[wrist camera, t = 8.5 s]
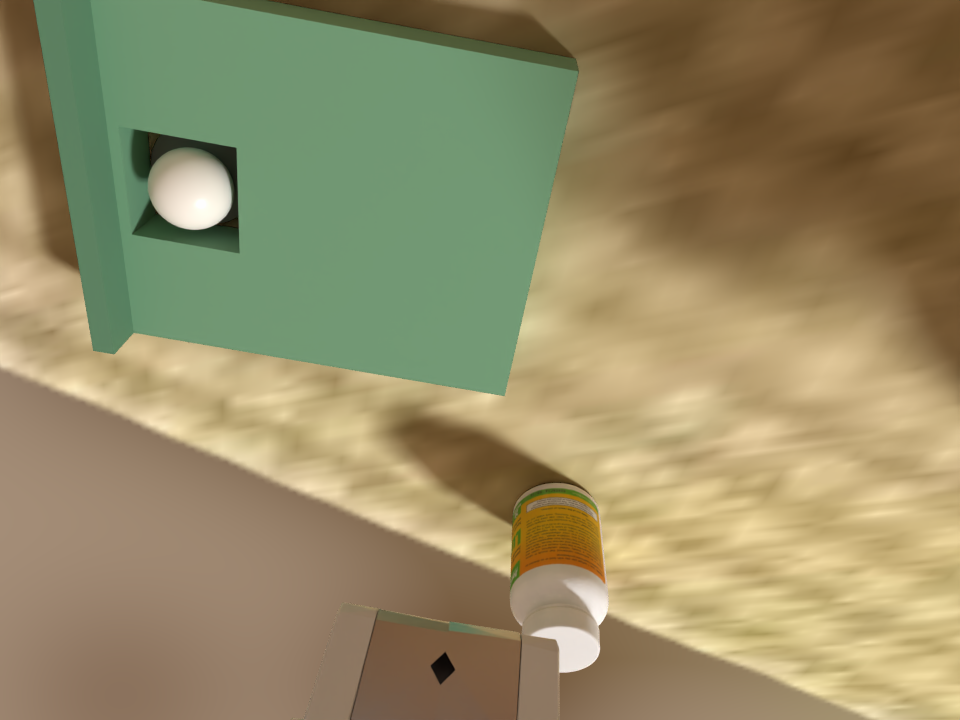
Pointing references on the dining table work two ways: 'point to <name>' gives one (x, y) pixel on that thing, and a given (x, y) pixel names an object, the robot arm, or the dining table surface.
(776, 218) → the dining table surface
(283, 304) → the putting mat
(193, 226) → the ball
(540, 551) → the supplement bottle
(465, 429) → the dining table surface
